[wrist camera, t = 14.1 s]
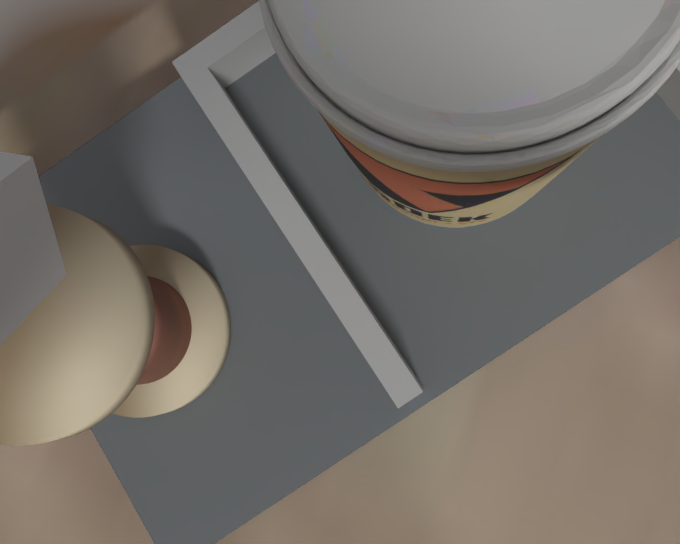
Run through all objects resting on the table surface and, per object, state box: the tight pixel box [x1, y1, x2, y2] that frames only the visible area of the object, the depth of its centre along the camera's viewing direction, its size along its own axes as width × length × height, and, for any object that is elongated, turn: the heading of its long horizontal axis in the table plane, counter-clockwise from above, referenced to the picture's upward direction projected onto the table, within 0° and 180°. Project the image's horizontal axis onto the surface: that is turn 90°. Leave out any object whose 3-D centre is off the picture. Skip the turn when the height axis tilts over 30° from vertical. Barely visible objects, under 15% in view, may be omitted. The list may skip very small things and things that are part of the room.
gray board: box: [39, 1, 680, 544], centre depth 24 cm, size 28×16×4 cm, turn 124°
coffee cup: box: [259, 0, 680, 228], centre depth 18 cm, size 9×9×12 cm
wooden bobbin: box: [0, 204, 231, 446], centre depth 21 cm, size 6×6×8 cm
